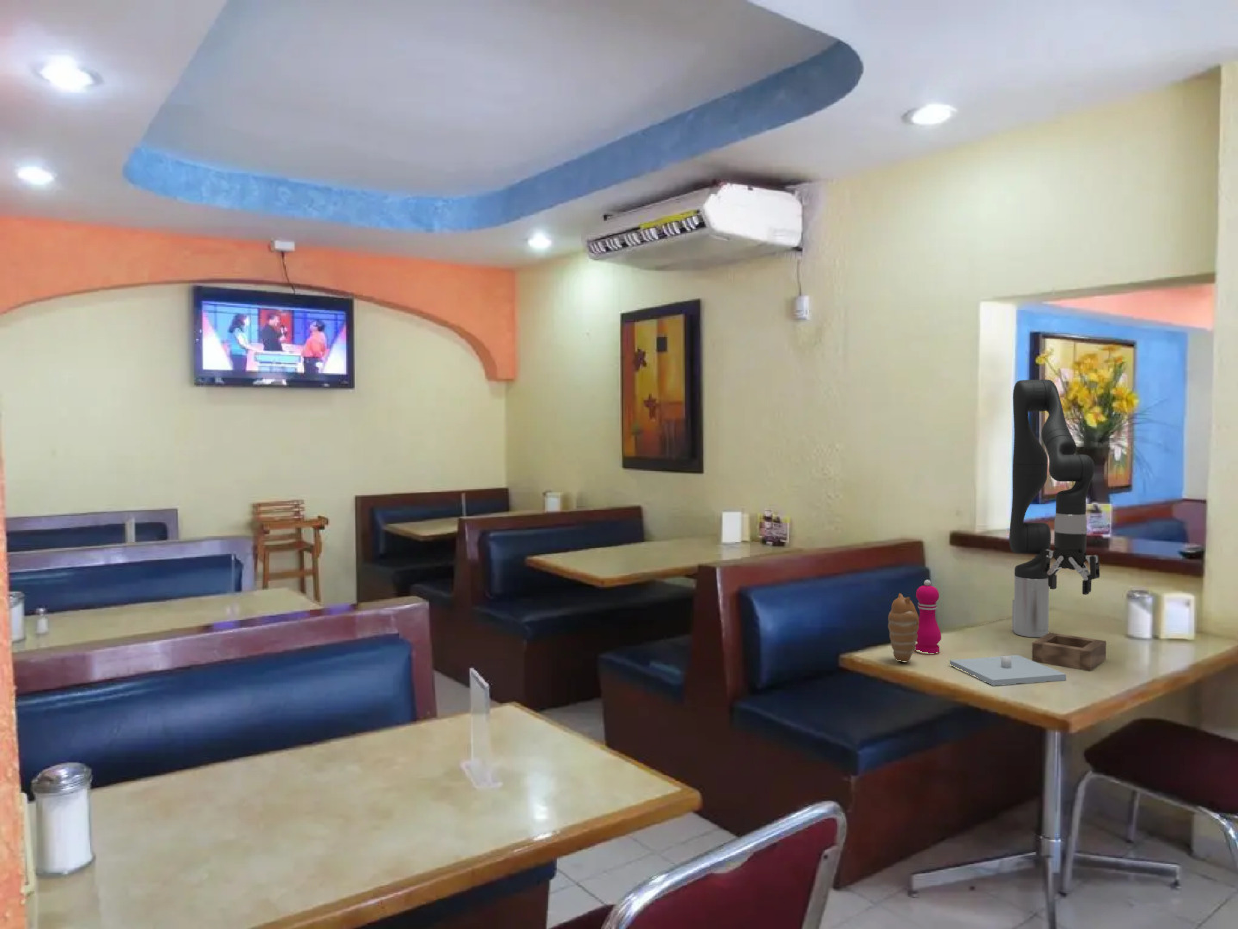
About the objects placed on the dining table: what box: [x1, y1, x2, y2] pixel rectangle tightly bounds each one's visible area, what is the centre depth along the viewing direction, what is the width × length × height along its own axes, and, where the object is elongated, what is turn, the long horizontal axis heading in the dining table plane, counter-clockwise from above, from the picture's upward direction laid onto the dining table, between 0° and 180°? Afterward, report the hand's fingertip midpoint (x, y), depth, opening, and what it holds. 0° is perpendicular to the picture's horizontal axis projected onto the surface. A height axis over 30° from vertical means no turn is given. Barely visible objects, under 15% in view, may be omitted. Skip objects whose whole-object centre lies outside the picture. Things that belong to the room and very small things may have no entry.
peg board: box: [949, 654, 1067, 687], centre depth 219 cm, size 18×20×4 cm
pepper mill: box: [914, 579, 942, 653], centre depth 239 cm, size 7×7×20 cm
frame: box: [1031, 632, 1107, 672], centre depth 229 cm, size 14×14×5 cm
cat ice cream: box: [887, 592, 919, 662], centre depth 229 cm, size 9×8×18 cm
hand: (1069, 591), depth 229 cm, fingers open, 8 cm apart
